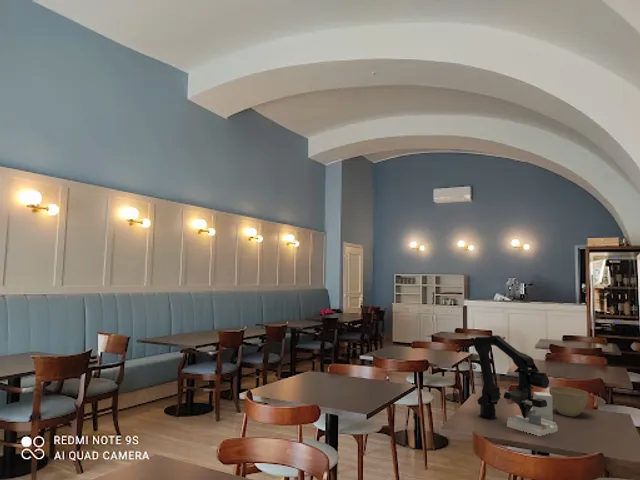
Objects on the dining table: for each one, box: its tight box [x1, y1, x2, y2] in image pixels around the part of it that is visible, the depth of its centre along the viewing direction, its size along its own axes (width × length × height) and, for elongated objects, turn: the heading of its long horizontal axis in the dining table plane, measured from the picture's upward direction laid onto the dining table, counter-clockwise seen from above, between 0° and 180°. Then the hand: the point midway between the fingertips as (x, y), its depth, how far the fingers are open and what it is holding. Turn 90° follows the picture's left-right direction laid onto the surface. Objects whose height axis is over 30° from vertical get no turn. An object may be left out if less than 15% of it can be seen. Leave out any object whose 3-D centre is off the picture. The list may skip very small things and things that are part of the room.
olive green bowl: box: [548, 386, 589, 417], centre depth 247 cm, size 18×18×12 cm
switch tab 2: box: [529, 414, 541, 426], centre depth 215 cm, size 4×3×5 cm
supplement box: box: [532, 391, 554, 422], centre depth 235 cm, size 7×7×13 cm
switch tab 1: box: [527, 408, 535, 418], centre depth 225 cm, size 4×3×5 cm
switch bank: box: [506, 414, 559, 437], centre depth 220 cm, size 16×15×4 cm
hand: (524, 418), depth 219 cm, fingers closed
